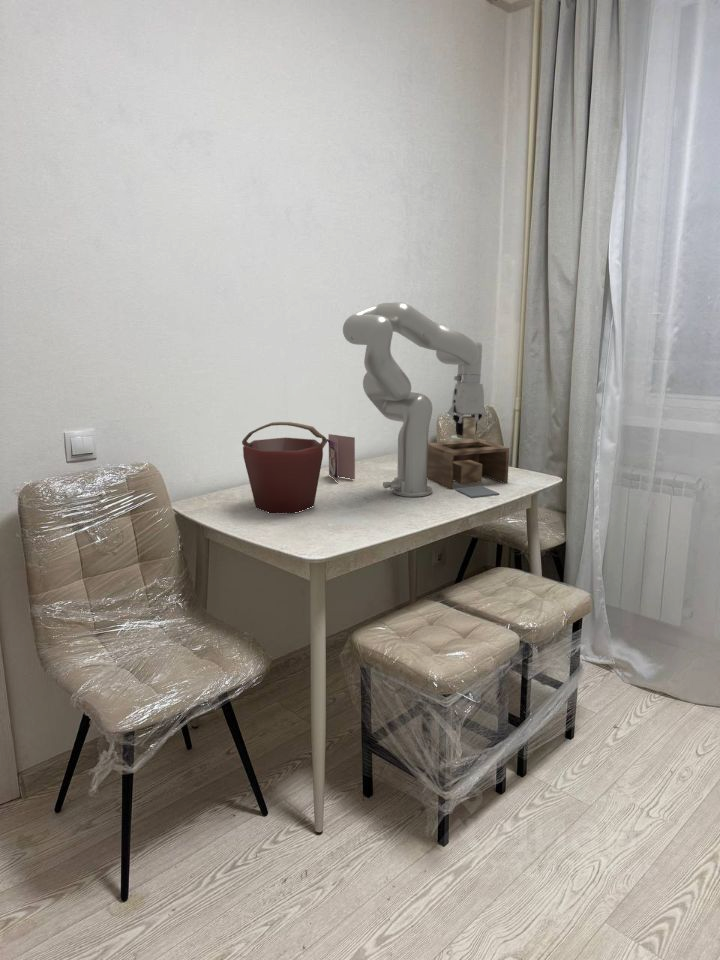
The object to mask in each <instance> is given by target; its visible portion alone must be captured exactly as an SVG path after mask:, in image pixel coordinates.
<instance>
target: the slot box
mask: <svg viewBox="0 0 720 960" xmlns="http://www.w3.org/2000/svg"><path fill="white" fill-rule="evenodd" d="M509 463H510V447H507V446H505V445H501V444H498V443H495V442H491V441H488V440H485V439H482V438H479V439H476V438H475V439H472V440H462V441H450V440H448V441H440V442H439V441H438V442H428V476H427V478H428V479H427V480H430V481H432V482H434V483H436V484H438V485H440V486H442V485H443V486H442V487H444V488H446V487H447V489H448V488H449V490H453V486H454V483H453V481H454V482H456V483H459V484H460V483H461V484H460V485H463V484H462V483H464V484H472V482H474V483H482V481H483V476H485V475H486V477H488V478H490V477H491V479H493V478H494V479H493V480H495V479H496V481H498V480H499V482H500V481H502V482H501V483H503V482H504V483H503V484H508V482H509V481H508V480H509Z"/></svg>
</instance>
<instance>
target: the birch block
mask: <svg viewBox="0 0 720 960" xmlns="http://www.w3.org/2000/svg"><path fill="white" fill-rule="evenodd" d="M462 423H463V433H462V435H458V434H456V435H457V437H458V438H461V439H472V440H476V434H475V432H476V433H477V431H476V418H475V417H471V415H463V419H462Z"/></svg>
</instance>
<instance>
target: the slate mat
mask: <svg viewBox="0 0 720 960" xmlns="http://www.w3.org/2000/svg"><path fill="white" fill-rule="evenodd" d="M455 491H456V492H458V493H460V494H462V495H465V496H466V497H469V498H470V499H475V498H483V497H484V498H485V497H492V496H493V495H494V496H499V495H500V492H497V491H495V490H492V489H490V488H488V487H486V486H484V485H480V486H471V487H461V488H455Z"/></svg>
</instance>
